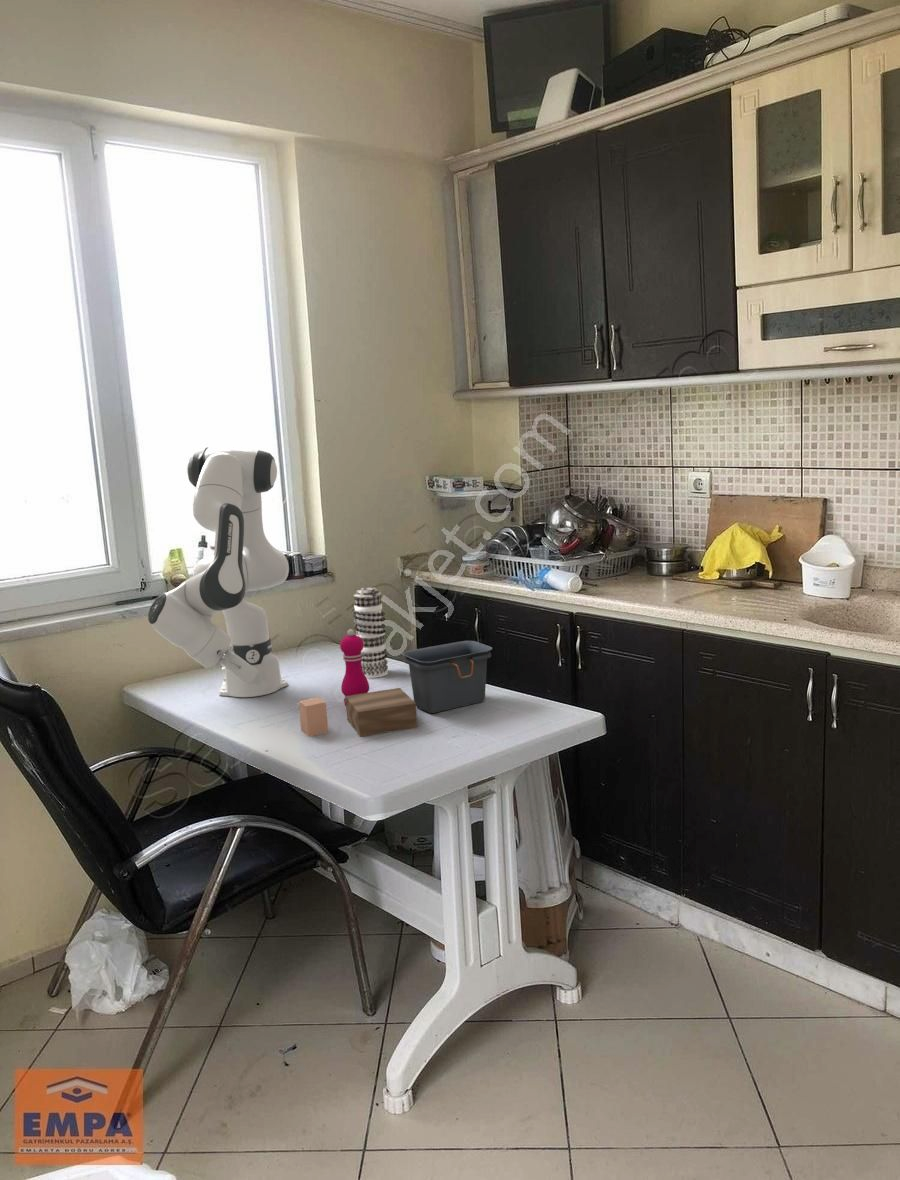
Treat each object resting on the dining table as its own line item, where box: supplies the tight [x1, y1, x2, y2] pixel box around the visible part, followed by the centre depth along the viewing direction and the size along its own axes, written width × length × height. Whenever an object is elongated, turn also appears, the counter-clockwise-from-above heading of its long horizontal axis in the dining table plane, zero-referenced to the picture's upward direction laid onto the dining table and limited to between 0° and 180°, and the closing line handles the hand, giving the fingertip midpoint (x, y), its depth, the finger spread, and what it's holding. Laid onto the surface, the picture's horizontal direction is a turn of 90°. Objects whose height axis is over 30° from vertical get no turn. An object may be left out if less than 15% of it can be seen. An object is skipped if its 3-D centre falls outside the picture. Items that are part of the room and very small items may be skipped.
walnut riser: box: [344, 687, 418, 738], centre depth 230 cm, size 14×14×6 cm
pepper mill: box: [339, 628, 370, 707], centre depth 245 cm, size 7×7×20 cm
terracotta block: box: [298, 696, 329, 737], centre depth 227 cm, size 5×5×8 cm
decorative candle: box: [352, 586, 389, 679], centre depth 272 cm, size 9×9×25 cm
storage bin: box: [402, 640, 493, 714], centre depth 240 cm, size 21×16×14 cm
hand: (259, 681), depth 219 cm, fingers open, 8 cm apart
